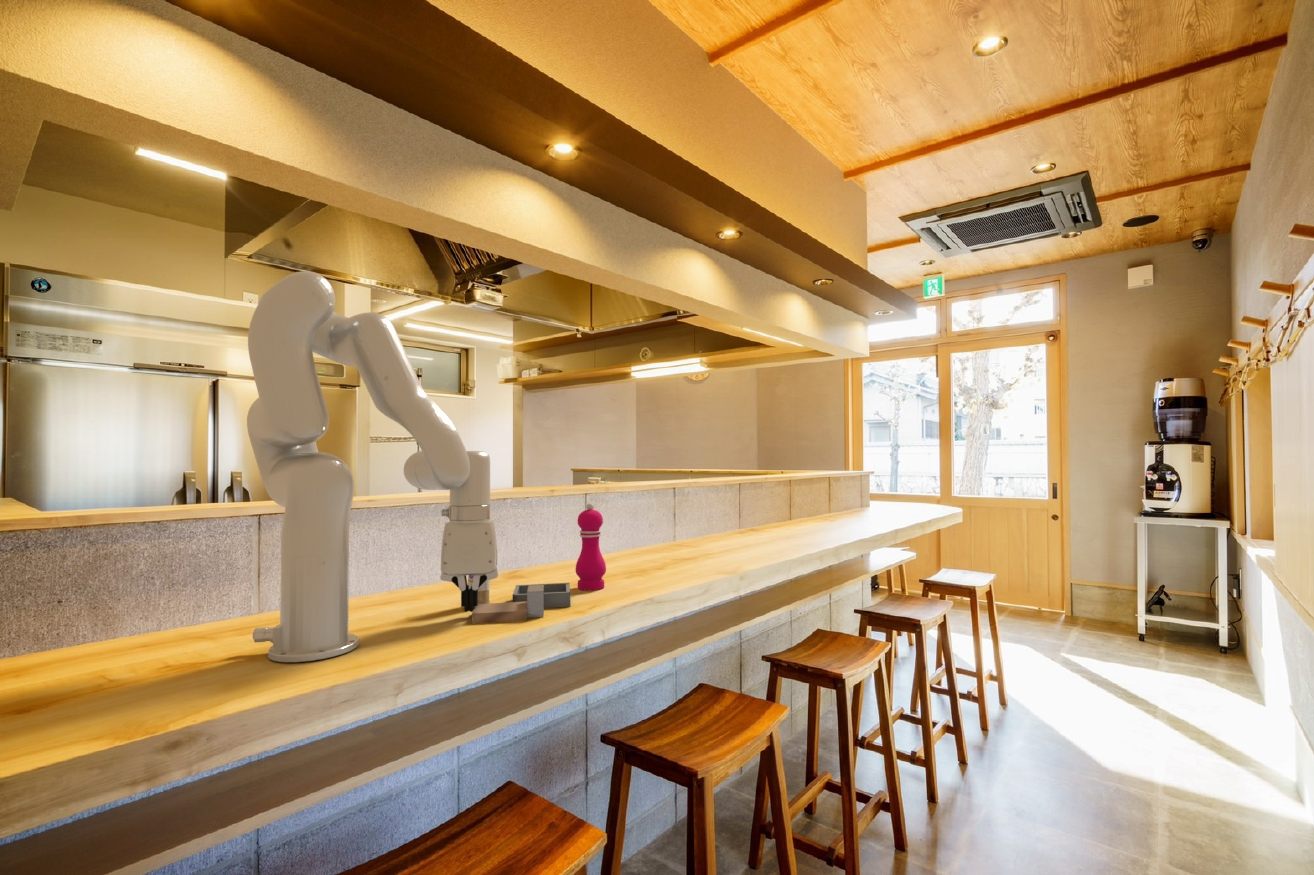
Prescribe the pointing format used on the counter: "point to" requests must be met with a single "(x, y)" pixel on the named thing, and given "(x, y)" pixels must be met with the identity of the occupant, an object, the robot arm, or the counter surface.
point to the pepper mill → (590, 551)
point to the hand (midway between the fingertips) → (469, 610)
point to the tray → (547, 594)
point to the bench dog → (535, 601)
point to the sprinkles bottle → (481, 590)
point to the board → (500, 612)
